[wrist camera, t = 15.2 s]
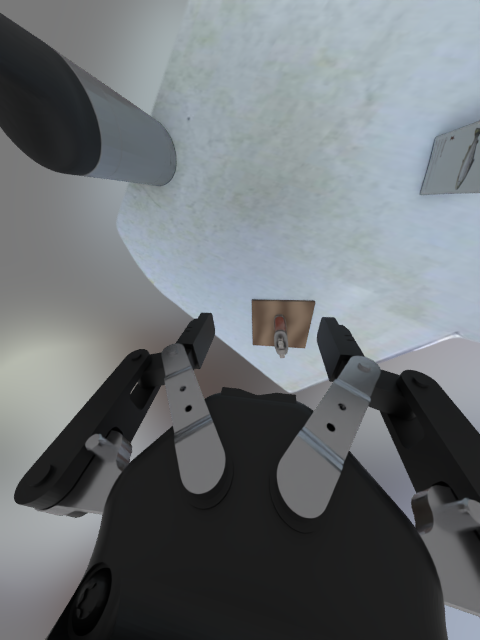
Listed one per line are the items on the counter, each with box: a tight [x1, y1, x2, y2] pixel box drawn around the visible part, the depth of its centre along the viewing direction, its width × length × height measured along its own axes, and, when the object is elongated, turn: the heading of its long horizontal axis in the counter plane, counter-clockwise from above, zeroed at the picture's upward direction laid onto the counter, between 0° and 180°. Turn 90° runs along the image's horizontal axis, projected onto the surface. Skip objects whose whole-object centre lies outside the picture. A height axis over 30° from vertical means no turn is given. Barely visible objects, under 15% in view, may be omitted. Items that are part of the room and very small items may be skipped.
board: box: [252, 299, 315, 348], centre depth 48 cm, size 16×16×1 cm
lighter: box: [274, 314, 288, 358], centre depth 44 cm, size 8×3×10 cm, turn 12°
